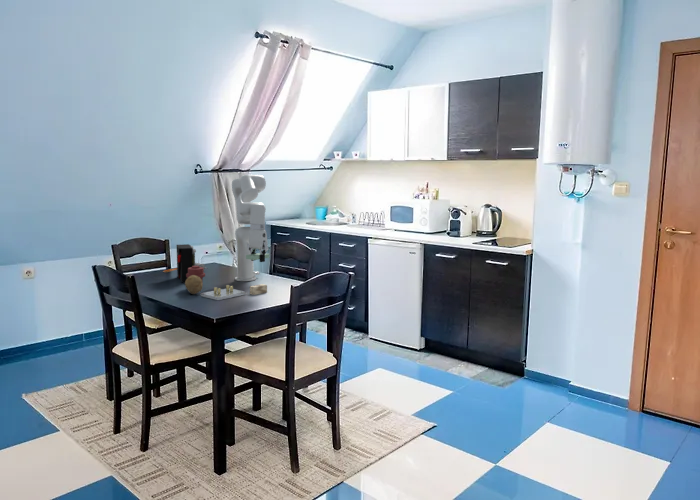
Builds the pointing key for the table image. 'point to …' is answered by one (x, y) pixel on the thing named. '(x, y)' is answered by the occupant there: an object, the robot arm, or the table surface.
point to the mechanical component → (196, 272)
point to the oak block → (258, 289)
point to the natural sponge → (193, 284)
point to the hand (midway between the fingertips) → (257, 260)
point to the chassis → (223, 293)
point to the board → (256, 256)
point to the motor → (195, 265)
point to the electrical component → (184, 260)
